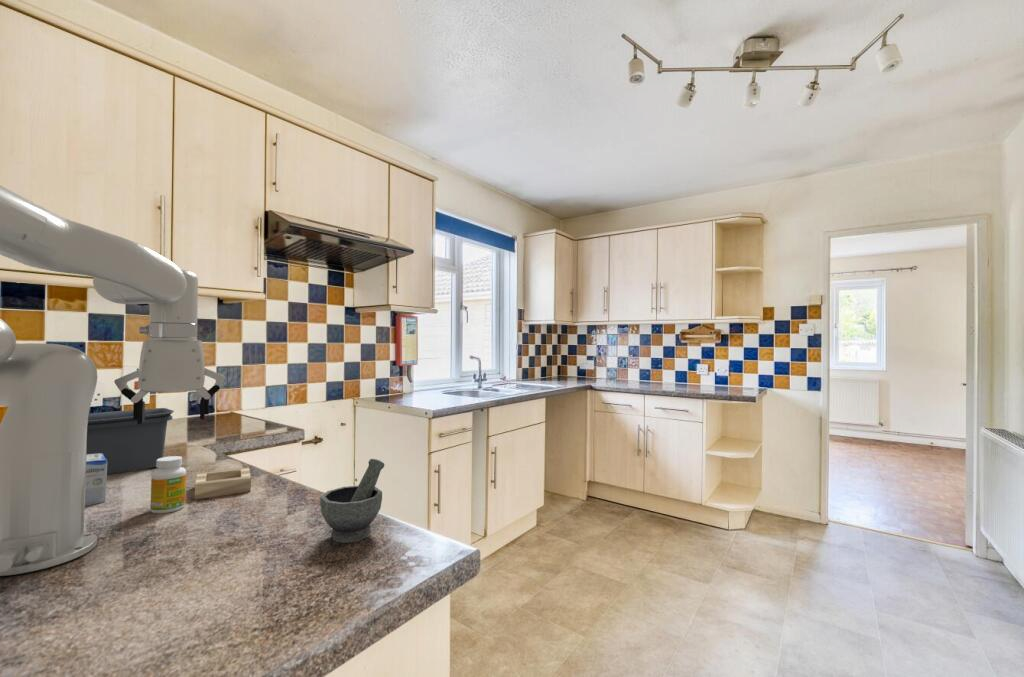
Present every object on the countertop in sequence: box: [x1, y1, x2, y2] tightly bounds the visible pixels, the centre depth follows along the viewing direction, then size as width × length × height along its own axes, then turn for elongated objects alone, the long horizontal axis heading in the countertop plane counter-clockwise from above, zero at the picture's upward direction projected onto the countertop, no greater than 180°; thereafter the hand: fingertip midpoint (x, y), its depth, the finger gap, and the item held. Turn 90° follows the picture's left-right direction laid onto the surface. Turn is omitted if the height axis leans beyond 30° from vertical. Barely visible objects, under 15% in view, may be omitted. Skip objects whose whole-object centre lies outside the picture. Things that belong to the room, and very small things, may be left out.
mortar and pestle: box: [319, 458, 386, 544], centre depth 77 cm, size 11×9×12 cm
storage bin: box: [86, 407, 175, 476], centre depth 114 cm, size 21×16×14 cm
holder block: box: [194, 466, 252, 500], centre depth 100 cm, size 10×10×3 cm
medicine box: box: [85, 453, 108, 507], centre depth 92 cm, size 8×4×9 cm, turn 47°
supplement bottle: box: [150, 455, 187, 514], centre depth 87 cm, size 5×5×10 cm
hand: (172, 420), depth 88 cm, fingers open, 9 cm apart
